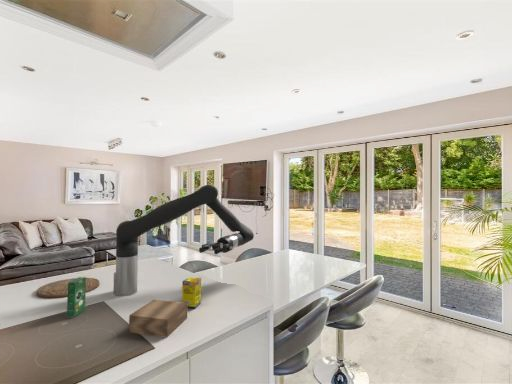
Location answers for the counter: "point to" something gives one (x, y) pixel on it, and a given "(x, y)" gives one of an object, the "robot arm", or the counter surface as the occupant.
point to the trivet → (63, 288)
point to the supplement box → (191, 292)
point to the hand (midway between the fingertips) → (207, 251)
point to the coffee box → (76, 297)
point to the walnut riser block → (158, 318)
